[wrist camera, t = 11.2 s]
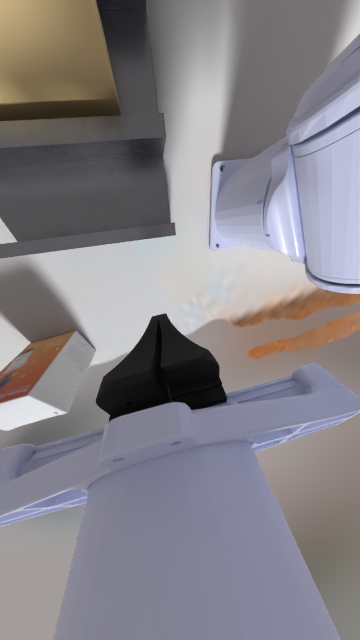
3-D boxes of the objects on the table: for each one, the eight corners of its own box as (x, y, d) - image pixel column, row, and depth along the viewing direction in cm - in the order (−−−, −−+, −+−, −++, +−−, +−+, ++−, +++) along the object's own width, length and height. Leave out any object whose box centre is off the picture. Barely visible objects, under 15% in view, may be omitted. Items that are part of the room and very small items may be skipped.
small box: (77, 328, 21) (29, 394, 13) (97, 350, 25) (69, 413, 16) (29, 342, 21) (-52, 417, 13) (55, 362, 25) (5, 432, 16)
